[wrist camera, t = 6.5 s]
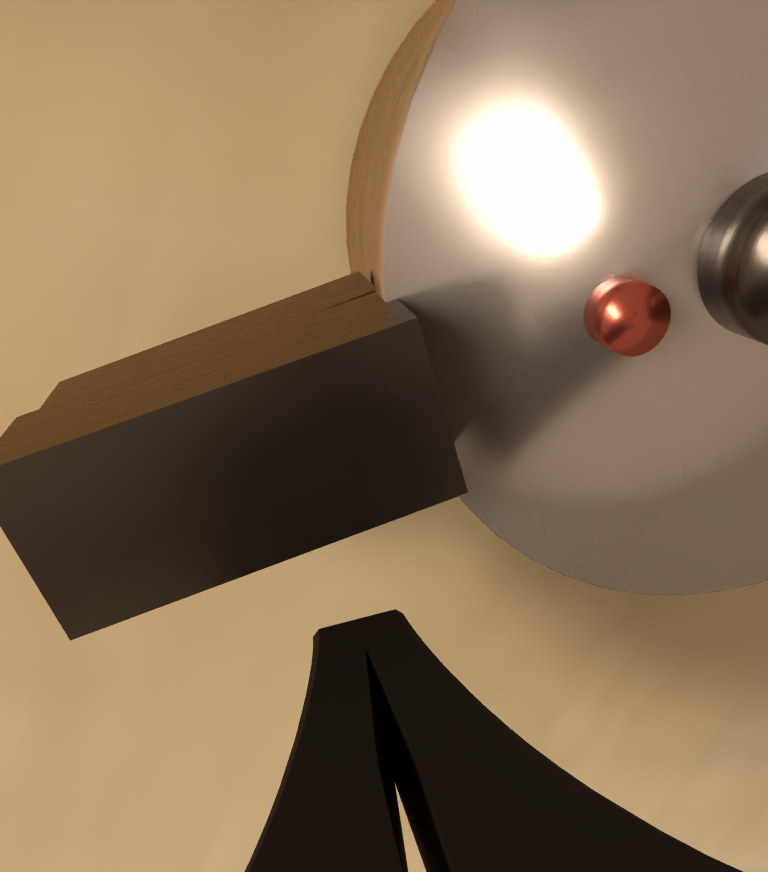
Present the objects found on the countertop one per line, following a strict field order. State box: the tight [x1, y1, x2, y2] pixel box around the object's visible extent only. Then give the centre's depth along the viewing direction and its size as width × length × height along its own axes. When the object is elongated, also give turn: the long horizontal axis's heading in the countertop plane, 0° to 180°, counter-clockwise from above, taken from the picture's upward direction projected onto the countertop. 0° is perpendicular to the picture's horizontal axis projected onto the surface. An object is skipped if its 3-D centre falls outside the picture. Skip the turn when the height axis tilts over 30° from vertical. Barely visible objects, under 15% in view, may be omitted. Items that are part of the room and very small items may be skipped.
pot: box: [40, 0, 448, 409], centre depth 14 cm, size 19×11×4 cm, turn 109°
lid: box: [0, 0, 768, 640], centre depth 10 cm, size 17×12×2 cm
